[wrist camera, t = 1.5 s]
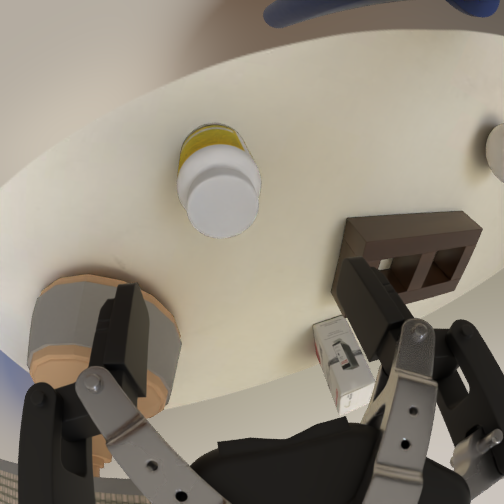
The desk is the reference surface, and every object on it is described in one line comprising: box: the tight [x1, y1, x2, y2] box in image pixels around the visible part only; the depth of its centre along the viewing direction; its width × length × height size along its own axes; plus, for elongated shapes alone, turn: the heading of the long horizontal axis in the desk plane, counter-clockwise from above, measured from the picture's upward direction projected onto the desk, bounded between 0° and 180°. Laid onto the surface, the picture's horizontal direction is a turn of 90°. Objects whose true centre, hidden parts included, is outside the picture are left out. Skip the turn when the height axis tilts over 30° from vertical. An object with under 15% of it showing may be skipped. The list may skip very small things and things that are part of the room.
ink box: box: [313, 315, 376, 416], centre depth 38 cm, size 9×5×12 cm, turn 13°
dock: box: [331, 211, 483, 318], centre depth 33 cm, size 11×19×4 cm, turn 90°
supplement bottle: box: [177, 123, 261, 238], centre depth 20 cm, size 5×5×10 cm
